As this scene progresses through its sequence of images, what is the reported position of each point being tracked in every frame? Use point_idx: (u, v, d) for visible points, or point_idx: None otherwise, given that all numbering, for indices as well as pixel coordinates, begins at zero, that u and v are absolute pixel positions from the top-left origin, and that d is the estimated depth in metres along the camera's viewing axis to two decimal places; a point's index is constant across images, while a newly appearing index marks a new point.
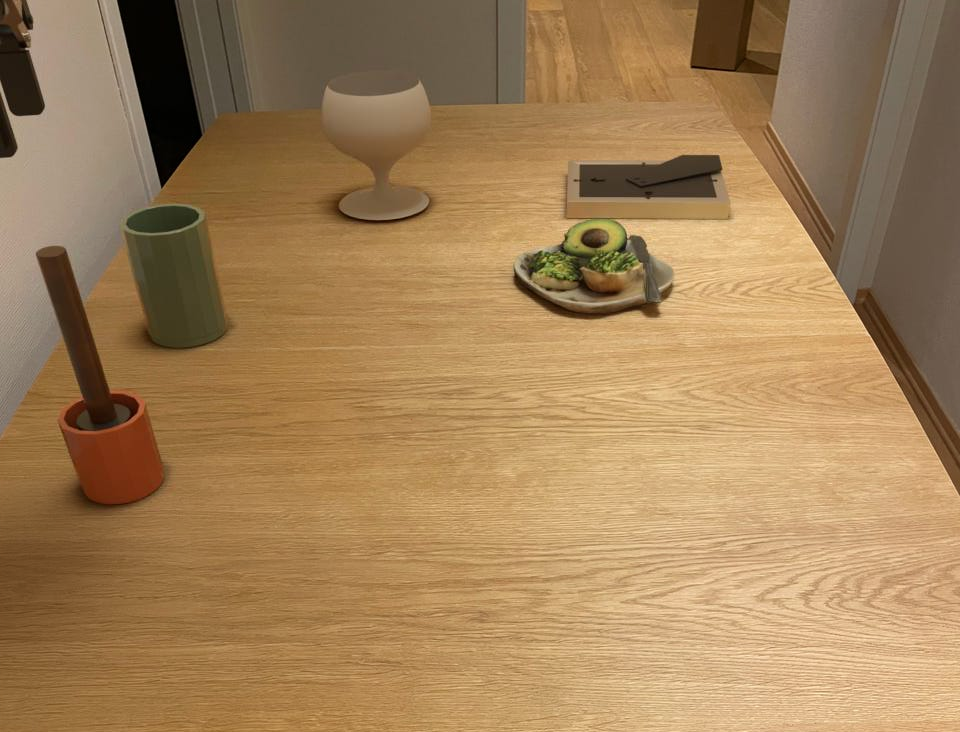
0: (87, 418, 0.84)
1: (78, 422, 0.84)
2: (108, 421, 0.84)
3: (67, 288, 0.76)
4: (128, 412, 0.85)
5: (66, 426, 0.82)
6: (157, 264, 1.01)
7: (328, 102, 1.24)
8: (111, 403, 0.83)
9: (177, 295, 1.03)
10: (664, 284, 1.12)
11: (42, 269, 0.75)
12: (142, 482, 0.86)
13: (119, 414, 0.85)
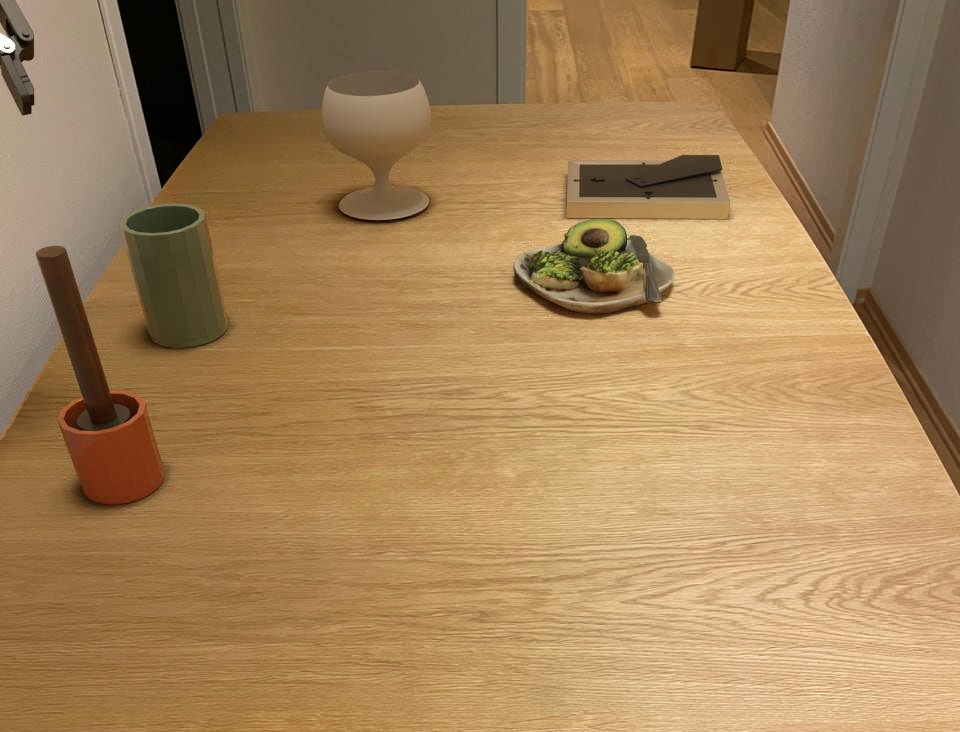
0: (87, 418, 0.84)
1: (78, 422, 0.84)
2: (108, 421, 0.84)
3: (67, 288, 0.76)
4: (128, 412, 0.85)
5: (66, 426, 0.82)
6: (157, 264, 1.01)
7: (328, 102, 1.24)
8: (111, 403, 0.83)
9: (177, 295, 1.03)
10: (664, 284, 1.12)
11: (42, 269, 0.75)
12: (142, 482, 0.86)
13: (119, 414, 0.85)
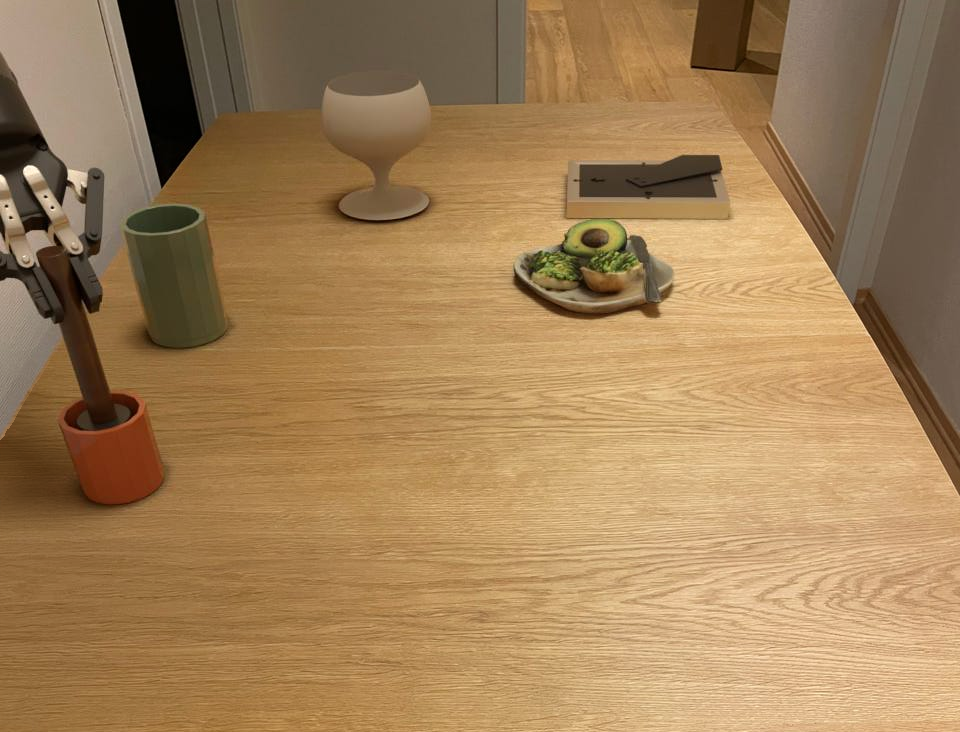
0: (87, 418, 0.84)
1: (78, 422, 0.84)
2: (108, 421, 0.84)
3: (68, 288, 0.76)
4: (128, 412, 0.85)
5: (66, 426, 0.82)
6: (157, 264, 1.01)
7: (328, 102, 1.24)
8: (111, 403, 0.83)
9: (177, 295, 1.03)
10: (664, 284, 1.12)
11: None
12: (142, 482, 0.86)
13: (119, 414, 0.85)
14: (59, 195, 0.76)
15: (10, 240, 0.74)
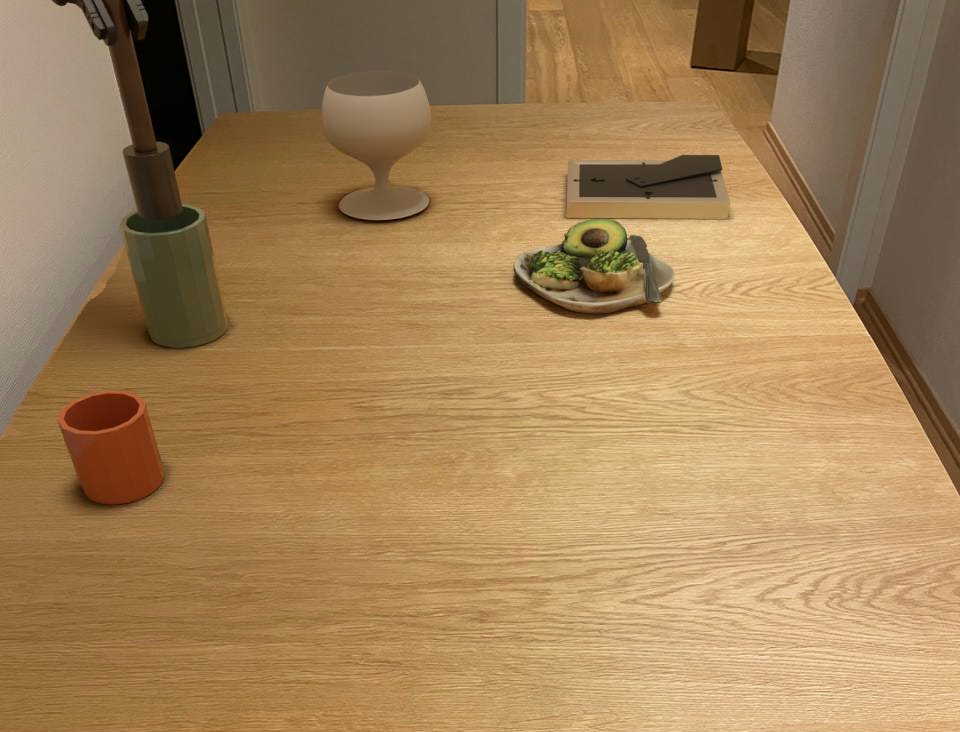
0: (131, 149, 0.97)
1: (124, 152, 0.97)
2: (150, 150, 0.97)
3: (119, 12, 0.89)
4: (167, 146, 0.98)
5: (66, 426, 0.82)
6: (157, 264, 1.01)
7: (328, 102, 1.24)
8: (153, 134, 0.96)
9: (177, 295, 1.03)
10: (664, 284, 1.12)
11: None
12: (142, 482, 0.86)
13: (159, 147, 0.97)
14: None
15: None
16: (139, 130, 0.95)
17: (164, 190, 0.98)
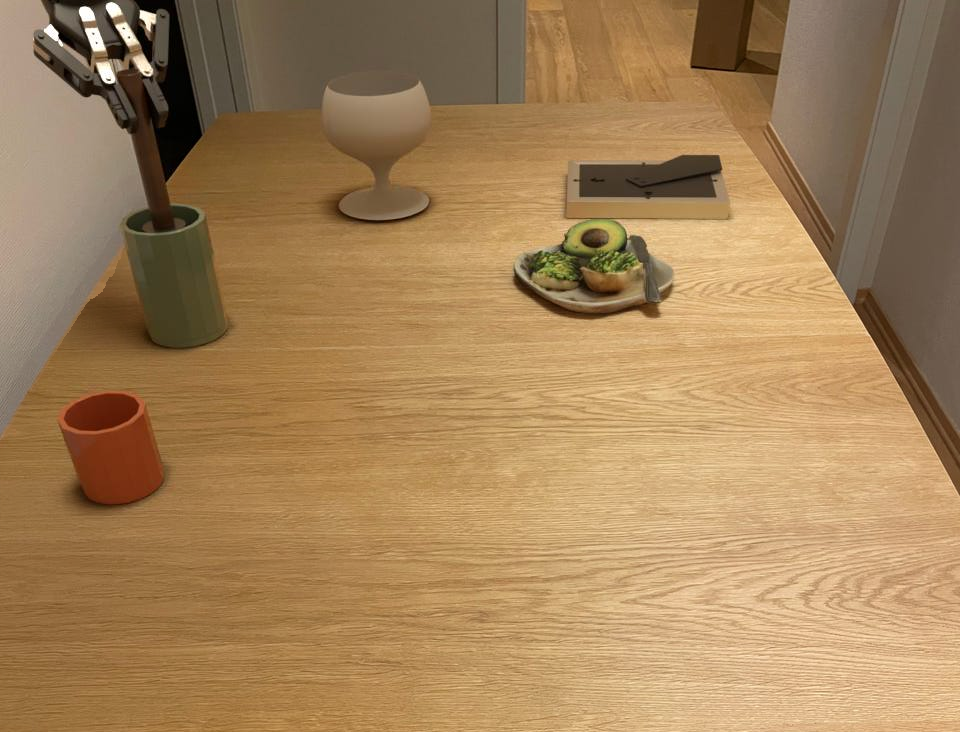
0: (150, 226, 1.02)
1: (143, 229, 1.02)
2: (168, 227, 1.02)
3: (141, 103, 0.94)
4: (184, 222, 1.03)
5: (66, 426, 0.82)
6: (157, 264, 1.01)
7: (328, 102, 1.24)
8: (171, 212, 1.01)
9: (177, 295, 1.03)
10: (664, 284, 1.12)
11: None
12: (142, 482, 0.86)
13: (176, 224, 1.03)
14: (134, 29, 0.94)
15: (96, 61, 0.92)
16: (158, 209, 1.00)
17: None
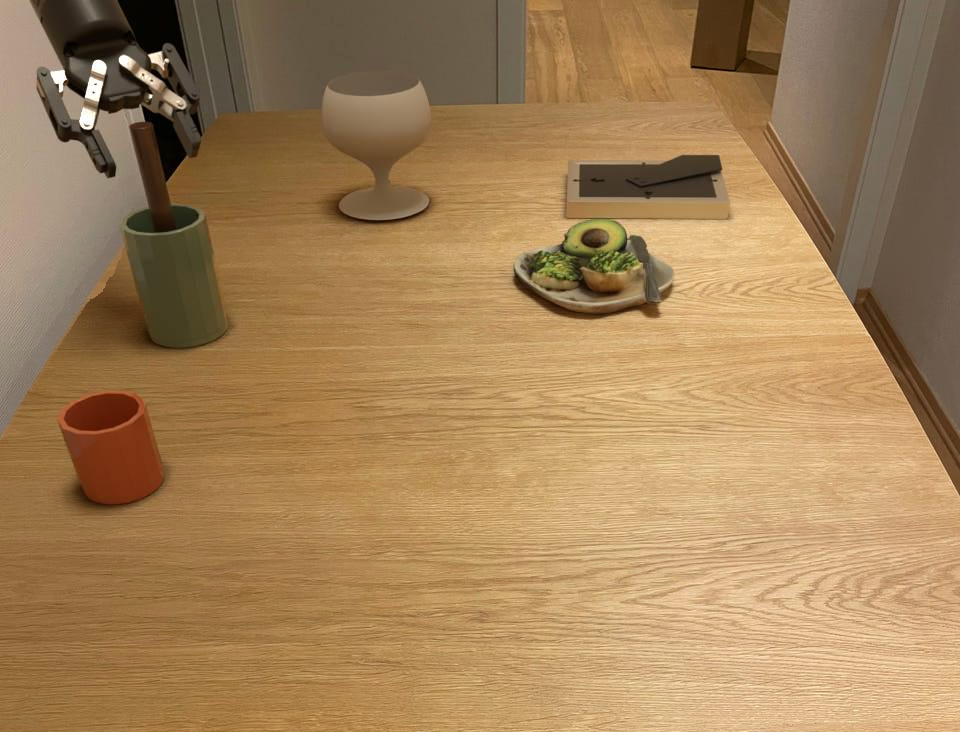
0: None
1: None
2: None
3: (153, 155, 0.97)
4: None
5: (66, 426, 0.82)
6: (157, 264, 1.01)
7: (328, 102, 1.24)
8: None
9: (177, 295, 1.03)
10: (664, 284, 1.12)
11: (134, 139, 0.96)
12: (142, 482, 0.86)
13: None
14: None
15: (84, 106, 0.94)
16: None
17: None
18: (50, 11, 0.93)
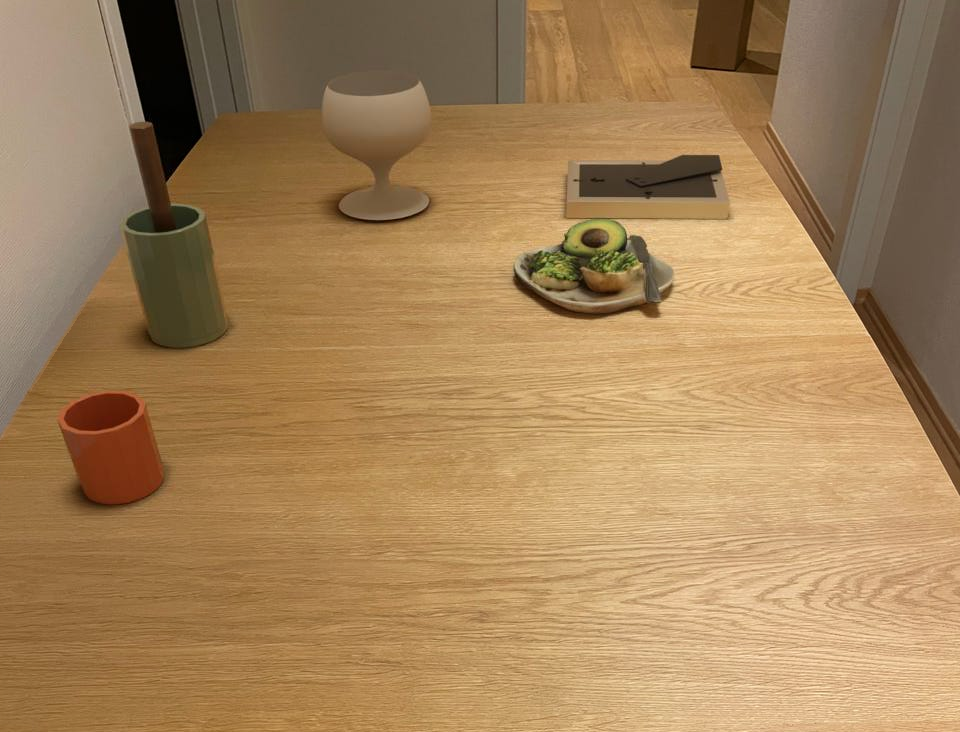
0: None
1: None
2: None
3: (153, 155, 0.97)
4: None
5: (66, 426, 0.82)
6: (157, 264, 1.01)
7: (328, 102, 1.24)
8: None
9: (177, 295, 1.03)
10: (664, 284, 1.12)
11: (134, 139, 0.96)
12: (142, 482, 0.86)
13: None
14: None
15: None
16: None
17: None
18: None
